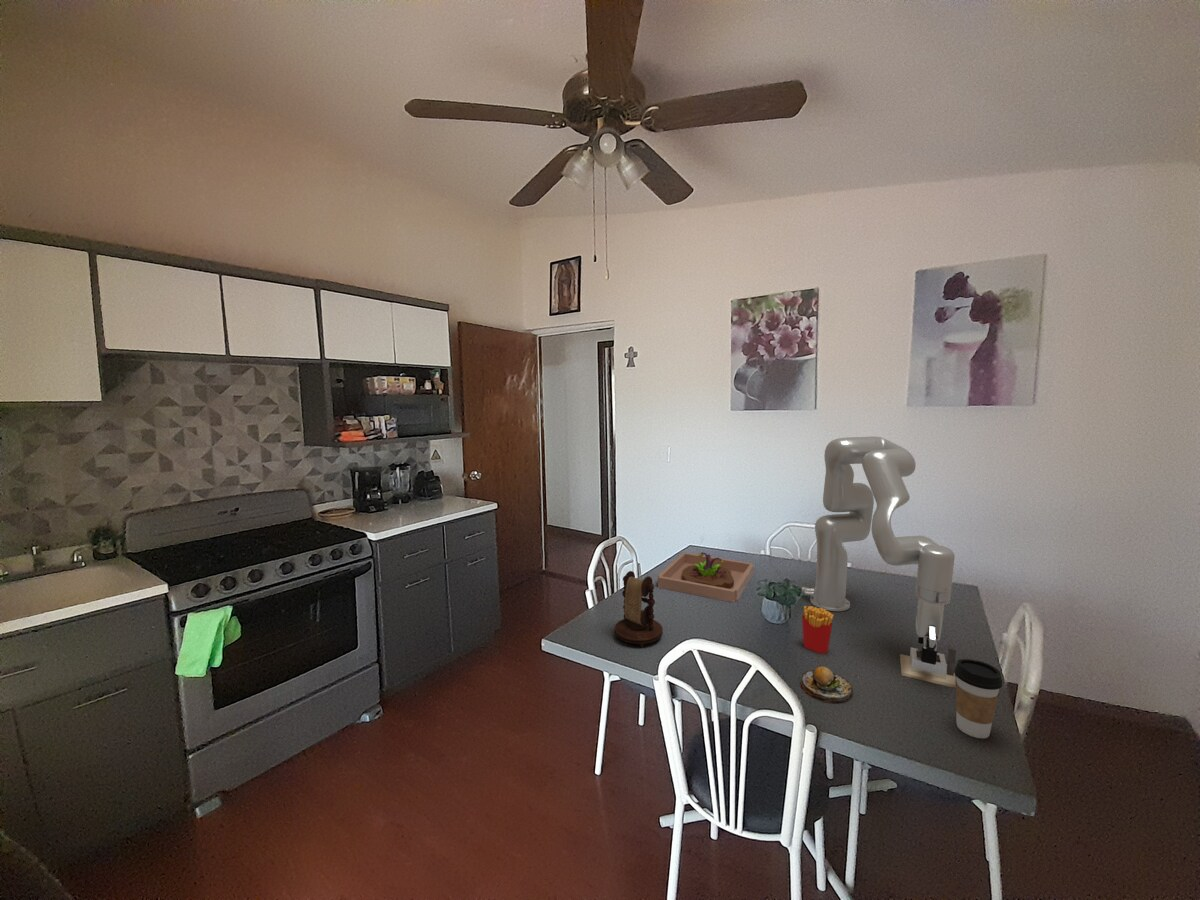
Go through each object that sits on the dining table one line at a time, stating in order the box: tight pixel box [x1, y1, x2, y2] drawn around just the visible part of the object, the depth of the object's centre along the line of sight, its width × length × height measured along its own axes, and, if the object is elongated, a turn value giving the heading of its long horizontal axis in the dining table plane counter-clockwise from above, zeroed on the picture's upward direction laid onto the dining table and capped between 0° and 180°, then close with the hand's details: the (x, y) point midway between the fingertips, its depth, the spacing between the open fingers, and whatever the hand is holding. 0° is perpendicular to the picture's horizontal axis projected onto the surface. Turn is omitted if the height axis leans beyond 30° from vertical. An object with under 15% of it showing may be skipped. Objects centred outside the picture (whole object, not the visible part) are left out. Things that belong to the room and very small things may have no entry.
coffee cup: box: [954, 658, 1003, 739], centre depth 109 cm, size 8×8×15 cm
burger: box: [800, 665, 854, 704], centre depth 125 cm, size 12×12×8 cm
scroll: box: [614, 570, 664, 648], centre depth 151 cm, size 15×15×20 cm
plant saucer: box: [657, 552, 755, 603], centre depth 194 cm, size 30×30×4 cm
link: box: [909, 647, 947, 679], centre depth 131 cm, size 8×6×4 cm
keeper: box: [899, 645, 957, 689], centre depth 131 cm, size 12×10×8 cm
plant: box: [682, 551, 734, 588], centre depth 193 cm, size 20×20×11 cm
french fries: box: [801, 605, 834, 654], centre depth 143 cm, size 8×4×12 cm, turn 42°
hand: (926, 653), depth 132 cm, fingers open, 9 cm apart
